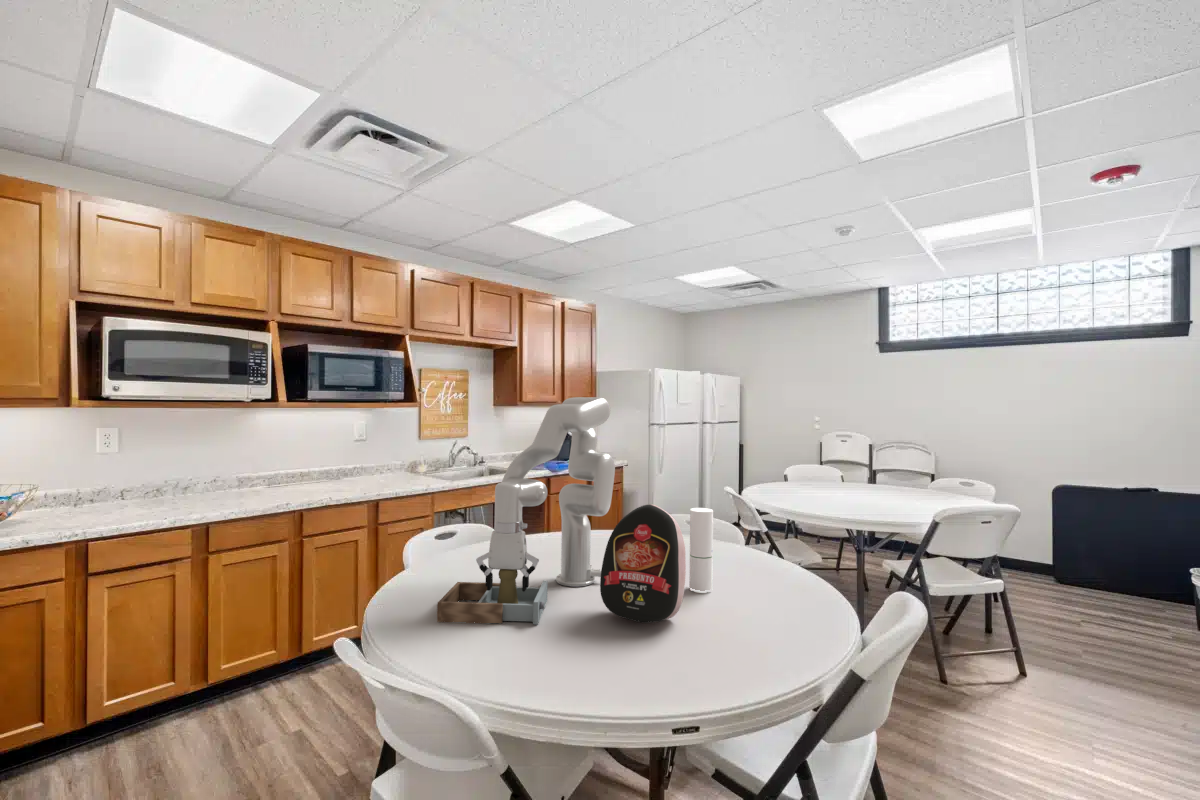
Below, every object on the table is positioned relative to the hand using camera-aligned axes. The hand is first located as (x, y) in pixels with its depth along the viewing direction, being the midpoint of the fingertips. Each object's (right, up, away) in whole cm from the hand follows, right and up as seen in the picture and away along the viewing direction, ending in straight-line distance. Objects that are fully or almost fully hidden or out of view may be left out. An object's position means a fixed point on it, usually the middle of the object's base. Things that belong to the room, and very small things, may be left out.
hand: (507, 589), depth 147 cm
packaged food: (+37, -7, -3) cm, 38 cm away
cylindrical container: (+57, -8, +20) cm, 61 cm away
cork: (0, -5, 0) cm, 5 cm away
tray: (+2, -6, 0) cm, 6 cm away
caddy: (-8, -6, 0) cm, 10 cm away
